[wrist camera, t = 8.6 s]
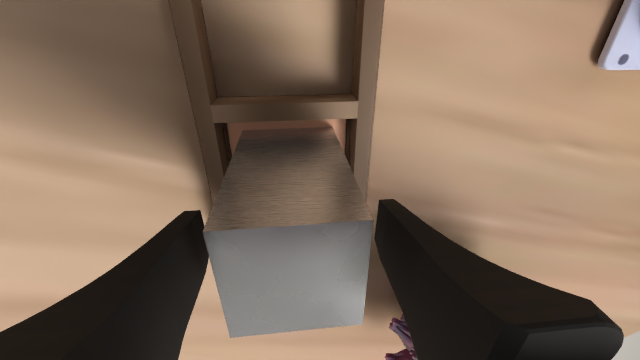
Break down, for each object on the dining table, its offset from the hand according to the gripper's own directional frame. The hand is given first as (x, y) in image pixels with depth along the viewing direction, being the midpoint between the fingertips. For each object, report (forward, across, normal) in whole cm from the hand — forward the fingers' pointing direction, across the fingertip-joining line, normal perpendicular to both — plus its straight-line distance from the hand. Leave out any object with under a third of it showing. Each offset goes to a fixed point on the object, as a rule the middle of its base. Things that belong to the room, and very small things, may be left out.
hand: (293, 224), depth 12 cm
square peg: (+5, 0, 0) cm, 5 cm away
